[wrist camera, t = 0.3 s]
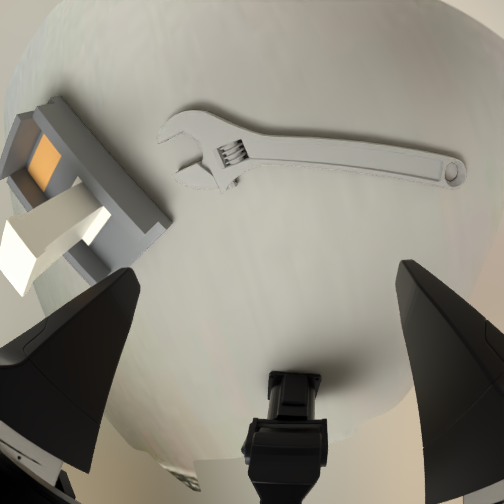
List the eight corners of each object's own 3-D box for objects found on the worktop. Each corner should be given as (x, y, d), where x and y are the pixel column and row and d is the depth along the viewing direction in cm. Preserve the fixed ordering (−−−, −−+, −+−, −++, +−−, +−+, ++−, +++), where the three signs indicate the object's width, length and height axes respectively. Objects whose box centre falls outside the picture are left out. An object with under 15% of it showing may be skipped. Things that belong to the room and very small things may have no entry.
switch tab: (118, 207, 23) (43, 266, 14) (91, 244, 25) (27, 303, 17) (84, 169, 21) (1, 212, 13) (61, 209, 24) (-8, 258, 15)
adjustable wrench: (460, 157, 18) (471, 162, 17) (443, 223, 21) (451, 232, 20) (168, 109, 20) (159, 111, 19) (168, 183, 23) (159, 189, 22)
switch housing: (172, 222, 25) (145, 252, 20) (119, 275, 29) (94, 306, 24) (60, 96, 20) (20, 102, 15) (26, 165, 24) (-7, 180, 19)
